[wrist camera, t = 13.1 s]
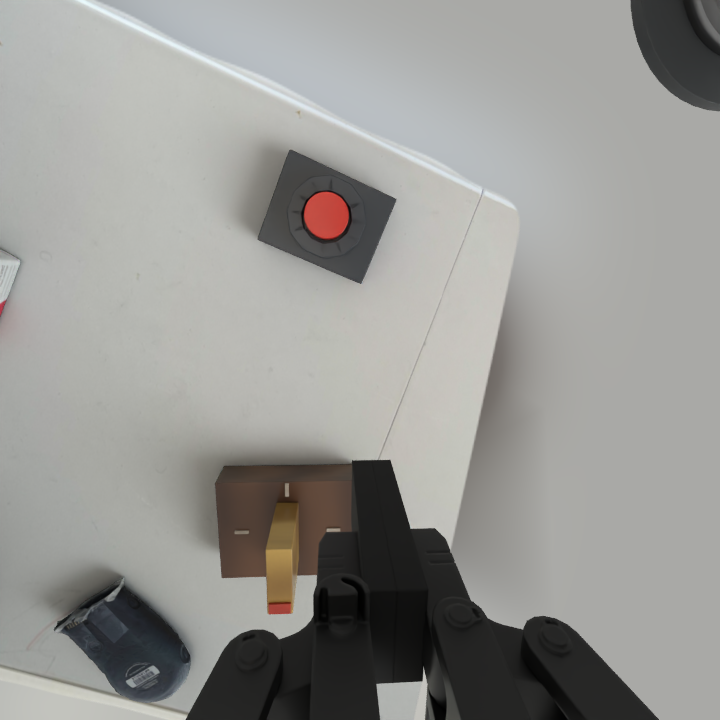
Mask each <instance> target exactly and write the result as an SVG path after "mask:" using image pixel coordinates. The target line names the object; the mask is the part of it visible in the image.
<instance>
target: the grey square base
mask: <svg viewBox="0 0 720 720" xmlns="http://www.w3.org/2000/svg"><path fill="white" fill-rule="evenodd" d="M320 192H332V193H335V194H337V195H338V196H340V197H341V198H342V199H343V200H344V202H345V203H346V205H347V208H348V212H349V219H348V223H347V226H346V228H345V230H344V231H343V233H342V234H341V235H339V236H338V237H336V238H334V239H330V240H325V239H321V238H318V237H316V236H315V235H314V234H312V233H311V231H310V230H309V229H308V227H307V225H306V223H305V219H304V210H305V206H306V204H307V202H308V201H309V199H310V198H311V197H312V196H314V195H315V194H317V193H320ZM395 202H396V199H395V198H393V197H391V196H389V195H386V194H384V193H382V192H380V191H378V190H376V189H374V188H372V187H369V186H367V185H365V184H363V183H361V182H359V181H357V180H354V179H352V178H350V177H348V176H346V175H344V174H342V173H340V172H337V171H335V170H333V169H331V168H329V167H327V166H325V165H322V164H320V163H318V162H316V161H314V160H312V159H310V158H308V157H305V156H303V155H301V154H299V153H297V152H295V151H293V150H289V153H288V155H287V158H286V161H285V164H284V166H283V169H282V172H281V175H280V178H279V180H278V183H277V186H276V189H275V192H274V194H273V197H272V200H271V203H270V206H269V208H268V211H267V214H266V217H265V219H264V222H263V225H262V228H261V231H260V233H259V236H258V240H260V241H262V242H264V243H267V244H269V245H271V246H274V247H276V248H278V249H281V250H283V251H285V252H288V253H290V254H292V255H295V256H297V257H299V258H302V259H304V260H306V261H309V262H311V263H313V264H316V265H318V266H320V267H323V268H325V269H327V270H330V271H332V272H334V273H336V274H339V275H341V276H343V277H346V278H348V279H350V280H353V281H355V282H357V283H360V284H362V281H363V279H364V276H365V274H366V272H367V269H368V267H369V264H370V262H371V260H372V257H373V255H374V252H375V250H376V248H377V245H378V243H379V240H380V238H381V236H382V233H383V231H384V228H385V226H386V224H387V221H388V219H389V216H390V214H391V212H392V209H393V207H394V204H395Z"/></svg>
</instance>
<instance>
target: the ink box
mask: <svg viewBox="0 0 720 720" xmlns="http://www.w3.org/2000/svg"><path fill="white" fill-rule="evenodd" d="M19 265H20V260H19V259H17V258H16V257H14V256H12V255H11V254H9V253H7V252H5V251H3V250H1V249H0V315H1V313H2V310H3V307H4V305H5V302H6V299H7V297H8V294H9V292H10V289H11V286H12V284H13V281H14V278H15V276H16V273H17V270H18V268H19Z"/></svg>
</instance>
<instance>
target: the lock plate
mask: <svg viewBox="0 0 720 720" xmlns="http://www.w3.org/2000/svg"><path fill="white" fill-rule="evenodd" d="M215 488H216V502H217V517H218V531H219V545H220V559H221V574H222V578H238V577H266V546H267V542H268V538H269V533H270V529H271V525H272V520H273V516H274V512H275V507H276V503H297V502H298V503H299V562H298V571H297V576H298V575H317V570H318V549H319V542H320V541H321V539H322V537H323V536H324V534H325V533H326V532H352V527H351V500H352V464H343V465H278V466H224V468H223V470H222V471H221V473H220V475H219V477H218V479H217V481H216V483H215Z"/></svg>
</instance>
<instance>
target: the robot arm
mask: <svg viewBox="0 0 720 720" xmlns="http://www.w3.org/2000/svg"><path fill="white" fill-rule="evenodd" d="M684 4H685V9H686V12H687V16H688V18H689V21H690V23H691V25H692V27H693V29H694V31H695V33H696V34H697V36H698V37H699V38H700V40H701V41H702V42H703V43H704V44H705V45H706V46H707V47H708V48H709V49H711V50H712V51H713V52H715V53H716V54H718V55H720V0H684ZM351 527H352V532H326V533H325V534H324V536H323V537H322V539H321V541H320V542H319V549H318V570H317V586H316V588H315V591H314V595H313V597H314V616H313V618H312V620H311V621H310V622H309V623H308V625H307V626H306V627H305V628H303V629H302V630H301V631H299V632H297V633H295V634H293V635H291V636H288V637H285V638H282V639H280V640H279V639H278V638H277V637H276V636H275V635H274V634H273V633H271V632H268V631H266V630H250V631H247V632H244V633H241V634H240V635H238V636H237V637H235V638H234V639H233V640H231V641H230V642H229V644H228V645H227V646H226V648H225V649H224V650H223V652H222V654H221V656H220V657H219V659H218V661H217V663H216V665H215V667H214V668H213V670H212V672H211V674H210V676H209V678H208V679H207V681H206V683H205V685H204V687H203V689H202V690H201V692H200V694H199V696H198V698H197V700H196V702H195V703H194V705H193V707H192V709H191V711H190V713H189V714H188V716H187V718H186V720H380V715H379V706H378V696H377V687H376V684H379V683H399V682H418V681H422V680H423V666H424V670H425V675H426V679H427V683H428V686H427V700H426V714H425V720H659V719H658V718H657V717H656V716H655V715H654V714H653V713H652V712H651V711H650V709H648V707H647V706H646V705H645V704H644V703H643V702H642V701H641V700H640V699H639V698H638V697H637V696H636V695H635V694H634V692H633V691H632V690H631V689H630V688H629V687H628V686H627V685H626V684H625V683H624V682H623V681H622V680H621V679H620V678H619V677H618V675H617V674H615V672H614V671H613V670H612V669H611V668H610V667H609V666H608V665H607V664H606V663H605V662H604V661H603V659H602V658H601V657H600V656H599V655H598V654H597V653H596V652H595V651H594V650H593V649H592V648H591V647H590V646H589V645H588V644H587V643H586V641H585V640H584V639H583V638H582V637H581V636H580V635H579V634H578V633H577V632H576V631H574V630H573V629H572V628H571V627H570V626H568V625H567V624H565V623H563V622H561V621H559V620H557V619H555V618H550V617H546V616H539V617H533V618H532V619H530V620H528V621H527V622H526V624H525V626H524V629H523V630H522V629H517V628H514V627H509V626H505V625H502V624H499V623H496V622H494V621H492V620H490V619H488V618H487V617H486V615H485V613H484V612H483V611H482V609H481V608H480V607H479V606H477V605H476V604H475V603H474V602H472V601H471V600H470V598H469V595H468V593H467V590H466V588H465V585H464V583H463V580H462V578H461V576H460V573H459V571H458V568H457V566H456V564H455V563H454V558H453V556H452V554H451V553H450V549H449V546H448V544H447V541H446V539H445V538H444V537H443V536H442V535H441V534H440V533H439V532H438V531H437V530H436V529H435V528H428V529H410V525H409V522H408V518H407V515H406V512H405V508H404V505H403V501H402V498H401V495H400V491H399V488H398V485H397V481H396V478H395V474H394V471H393V468H392V464H391V461H390V460H360V461H352V500H351Z"/></svg>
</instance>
